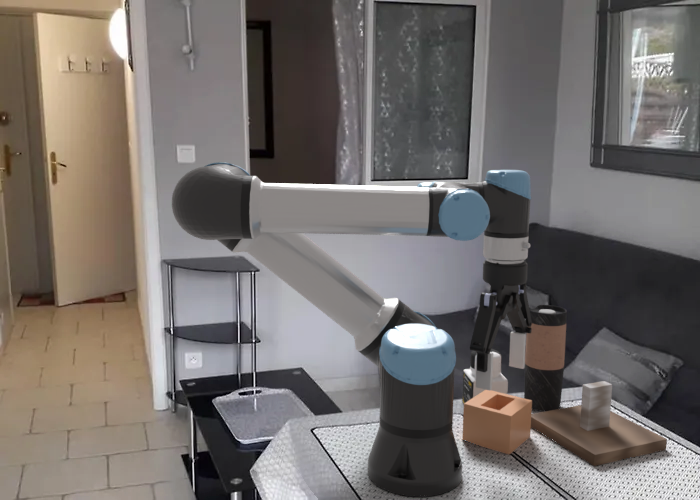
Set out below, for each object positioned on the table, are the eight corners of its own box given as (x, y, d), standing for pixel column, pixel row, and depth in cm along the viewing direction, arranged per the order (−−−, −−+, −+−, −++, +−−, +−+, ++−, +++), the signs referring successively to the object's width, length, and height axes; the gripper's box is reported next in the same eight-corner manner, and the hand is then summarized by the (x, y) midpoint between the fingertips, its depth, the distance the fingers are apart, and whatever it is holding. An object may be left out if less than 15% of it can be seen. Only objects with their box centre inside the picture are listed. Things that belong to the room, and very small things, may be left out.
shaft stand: (594, 466, 117) (598, 409, 115) (527, 424, 133) (529, 374, 131) (665, 449, 123) (670, 395, 121) (593, 412, 139) (596, 363, 138)
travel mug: (563, 413, 138) (569, 315, 135) (523, 410, 140) (528, 312, 137) (559, 399, 146) (565, 305, 143) (522, 396, 147) (526, 303, 144)
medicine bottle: (461, 401, 144) (463, 345, 142) (495, 400, 145) (498, 344, 143) (471, 415, 137) (473, 356, 135) (506, 414, 138) (509, 355, 136)
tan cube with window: (509, 454, 121) (511, 416, 119) (462, 440, 126) (463, 403, 125) (530, 436, 128) (532, 400, 127) (484, 424, 133) (486, 389, 132)
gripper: (493, 274, 109) (489, 403, 113) (553, 252, 129) (547, 363, 133) (451, 268, 114) (448, 393, 117) (514, 248, 133) (510, 355, 137)
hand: (500, 377), depth 125 cm, fingers open, 13 cm apart
